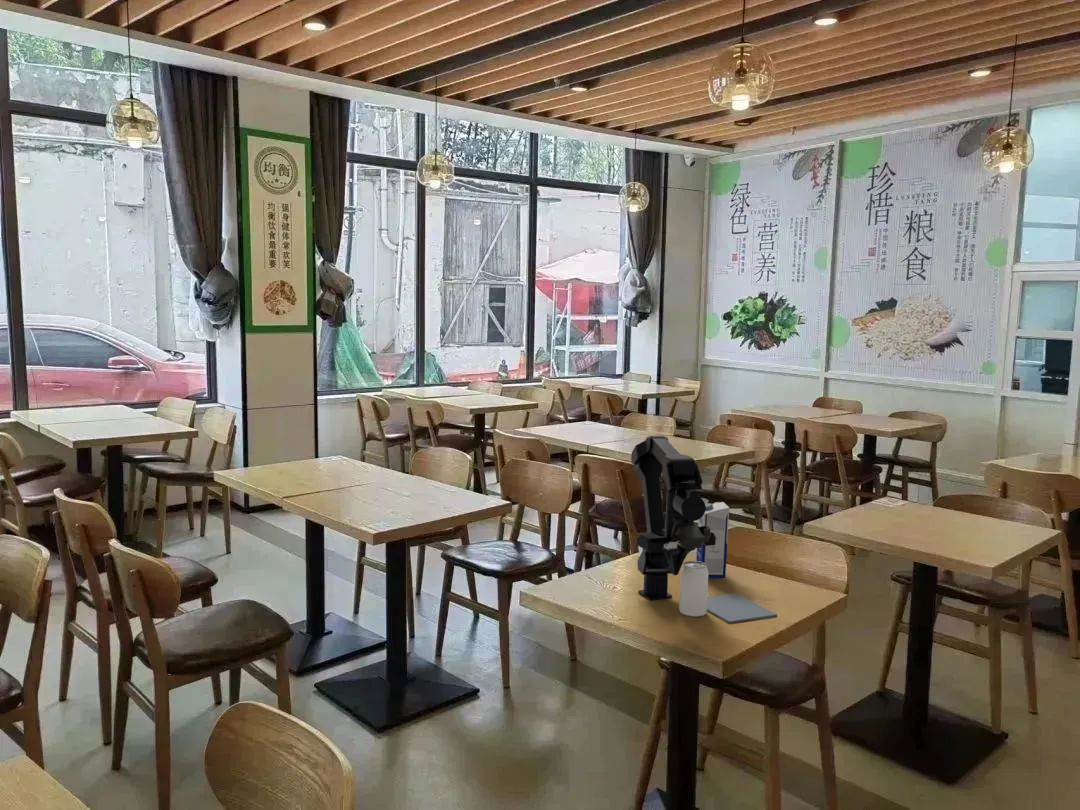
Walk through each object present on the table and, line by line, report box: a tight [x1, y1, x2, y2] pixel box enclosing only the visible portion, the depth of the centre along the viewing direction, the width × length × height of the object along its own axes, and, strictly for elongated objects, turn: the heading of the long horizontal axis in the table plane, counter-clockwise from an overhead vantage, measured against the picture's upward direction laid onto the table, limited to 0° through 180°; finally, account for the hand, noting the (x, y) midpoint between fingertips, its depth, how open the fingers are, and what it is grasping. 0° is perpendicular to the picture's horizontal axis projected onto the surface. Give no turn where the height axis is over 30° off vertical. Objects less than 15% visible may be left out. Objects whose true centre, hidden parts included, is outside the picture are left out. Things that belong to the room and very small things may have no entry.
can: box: [678, 560, 709, 618], centre depth 208 cm, size 6×6×12 cm
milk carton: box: [695, 501, 730, 579], centre depth 239 cm, size 7×7×20 cm
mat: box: [706, 593, 778, 624], centre depth 213 cm, size 16×14×1 cm
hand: (675, 574), depth 206 cm, fingers closed
